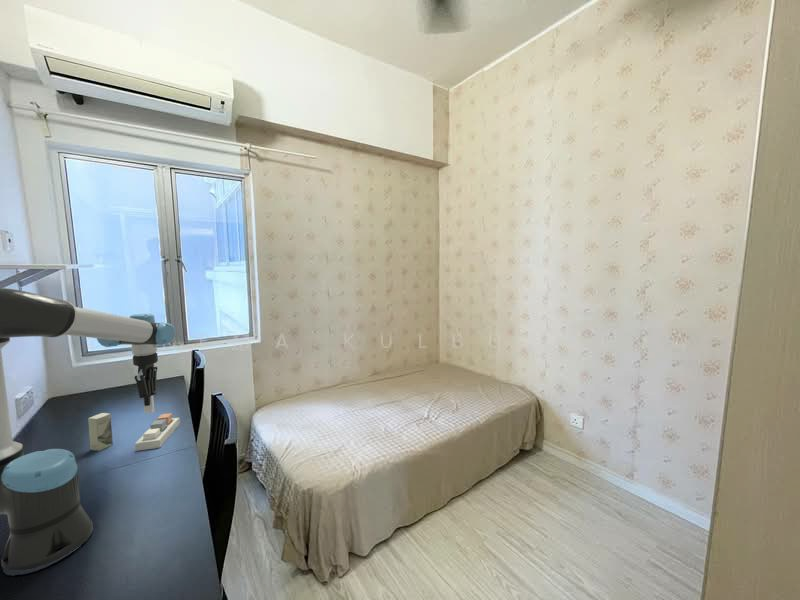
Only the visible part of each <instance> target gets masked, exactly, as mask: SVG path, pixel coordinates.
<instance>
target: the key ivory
mask: <svg viewBox="0 0 800 600" xmlns="http://www.w3.org/2000/svg"><path fill="white" fill-rule="evenodd" d="M142 436H143V438H144V441H145V440H152V439H157V438H158V437H159V436H160V428H157V429H150V428H149V429H147V430H146V431H144V433H143V434H142Z"/></svg>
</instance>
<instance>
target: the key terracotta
mask: <svg viewBox="0 0 800 600" xmlns="http://www.w3.org/2000/svg"><path fill="white" fill-rule="evenodd" d="M172 418H173V413H172V412H171V413H170V412H169V413H162V414H159V416H158V417H156V420H164V419H166V425H167V424H169V423H170V422H171V421H172Z"/></svg>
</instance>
